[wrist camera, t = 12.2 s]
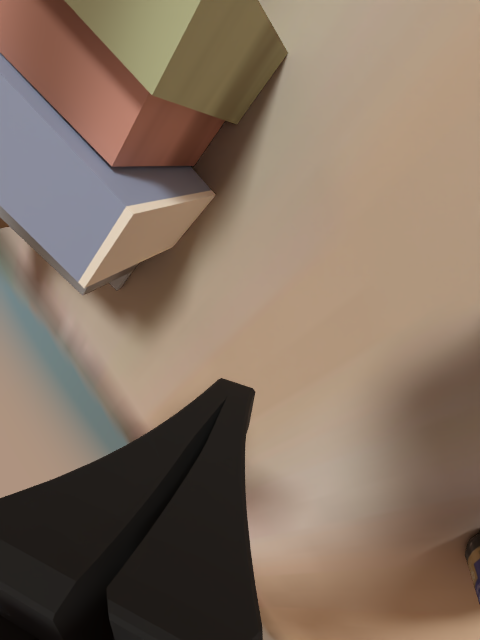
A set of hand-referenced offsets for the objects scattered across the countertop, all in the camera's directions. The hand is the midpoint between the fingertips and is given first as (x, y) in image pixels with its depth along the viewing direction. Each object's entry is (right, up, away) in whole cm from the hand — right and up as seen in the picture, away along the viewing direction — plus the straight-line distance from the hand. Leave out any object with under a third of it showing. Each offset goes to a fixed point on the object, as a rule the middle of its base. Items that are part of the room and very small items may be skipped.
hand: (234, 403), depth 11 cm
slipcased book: (-5, +11, +4) cm, 12 cm away
